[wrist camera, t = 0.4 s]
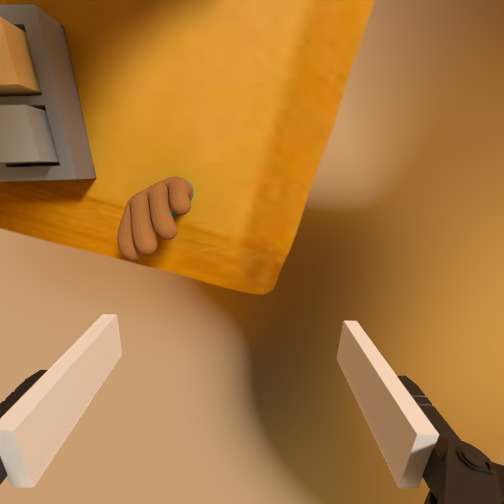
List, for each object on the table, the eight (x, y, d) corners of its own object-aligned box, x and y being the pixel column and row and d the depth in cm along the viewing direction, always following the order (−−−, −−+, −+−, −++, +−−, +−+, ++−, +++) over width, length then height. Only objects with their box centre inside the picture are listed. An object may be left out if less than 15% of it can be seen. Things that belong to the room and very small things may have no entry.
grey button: (3, 113, 32) (-30, 106, 28) (50, 112, 32) (24, 104, 28) (18, 163, 34) (-11, 162, 30) (63, 162, 34) (40, 161, 30)
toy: (152, 245, 41) (103, 285, 27) (124, 209, 39) (54, 231, 25) (213, 206, 39) (195, 226, 25) (187, 166, 37) (151, 163, 23)
